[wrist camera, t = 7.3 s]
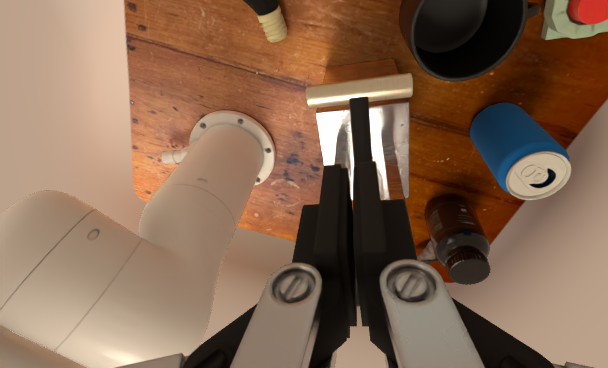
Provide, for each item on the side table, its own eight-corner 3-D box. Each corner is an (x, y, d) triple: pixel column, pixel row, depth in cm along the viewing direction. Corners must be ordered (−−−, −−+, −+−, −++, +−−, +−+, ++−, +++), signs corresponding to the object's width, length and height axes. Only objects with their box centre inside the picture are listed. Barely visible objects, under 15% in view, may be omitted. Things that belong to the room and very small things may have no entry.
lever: (310, 90, 21) (303, 81, 19) (408, 78, 20) (413, 67, 18) (326, 291, 22) (321, 306, 20) (421, 290, 21) (428, 306, 19)
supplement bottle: (481, 202, 49) (513, 264, 40) (453, 233, 53) (475, 296, 44) (440, 186, 49) (462, 245, 39) (415, 218, 53) (429, 279, 43)
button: (563, 24, 33) (573, 27, 32) (573, -18, 31) (584, -16, 30) (605, 18, 33) (617, 21, 31) (618, -25, 31) (631, -24, 29)
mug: (509, 48, 37) (547, 73, 30) (398, 61, 40) (408, 87, 32) (528, -54, 32) (580, -55, 25) (399, -33, 34) (411, -28, 27)
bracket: (325, 67, 41) (286, 238, 17) (393, 57, 39) (456, 232, 15) (335, 140, 46) (315, 348, 22) (394, 134, 45) (443, 351, 21)
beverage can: (496, 155, 45) (536, 212, 35) (457, 133, 44) (487, 186, 34) (536, 115, 41) (593, 167, 31) (494, 91, 40) (539, 136, 30)
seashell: (463, 257, 50) (450, 232, 51) (415, 272, 54) (404, 250, 55) (467, 251, 54) (455, 228, 55) (421, 266, 58) (411, 245, 59)
